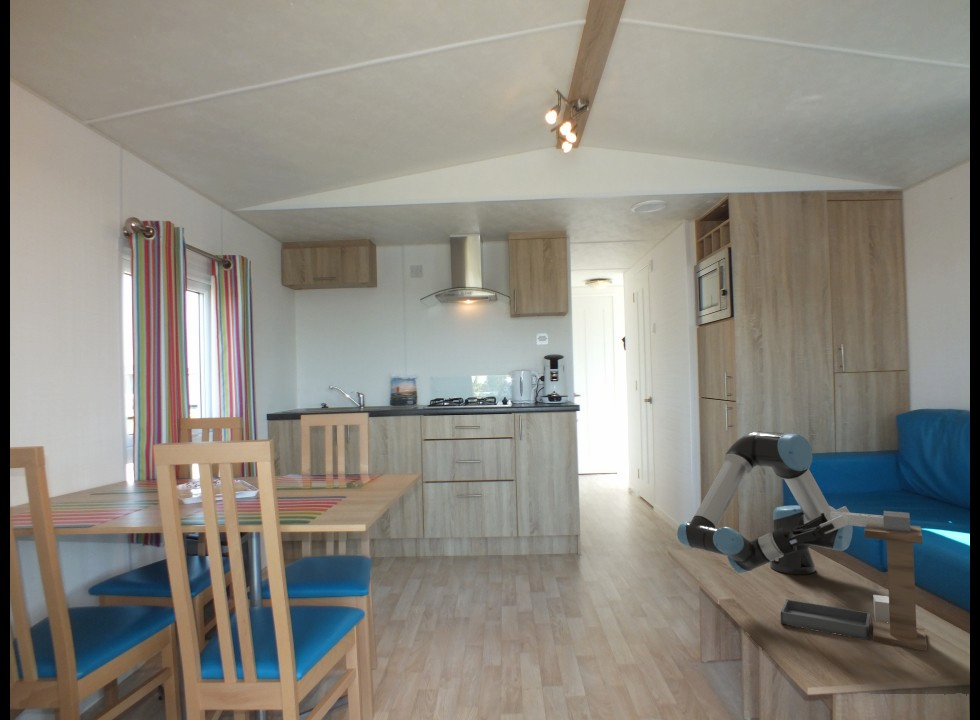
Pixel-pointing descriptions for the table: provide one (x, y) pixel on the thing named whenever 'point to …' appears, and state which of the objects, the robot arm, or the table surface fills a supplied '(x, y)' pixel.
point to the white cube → (881, 608)
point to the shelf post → (900, 590)
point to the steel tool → (877, 520)
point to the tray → (826, 618)
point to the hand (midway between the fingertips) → (846, 514)
